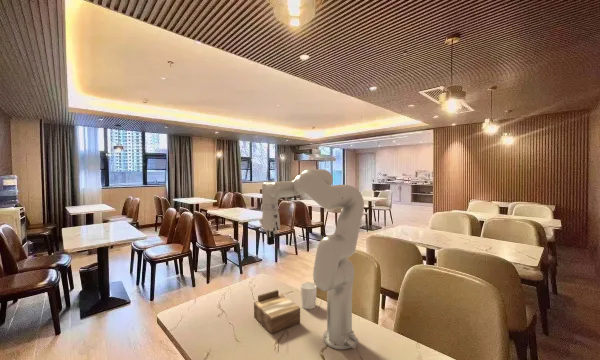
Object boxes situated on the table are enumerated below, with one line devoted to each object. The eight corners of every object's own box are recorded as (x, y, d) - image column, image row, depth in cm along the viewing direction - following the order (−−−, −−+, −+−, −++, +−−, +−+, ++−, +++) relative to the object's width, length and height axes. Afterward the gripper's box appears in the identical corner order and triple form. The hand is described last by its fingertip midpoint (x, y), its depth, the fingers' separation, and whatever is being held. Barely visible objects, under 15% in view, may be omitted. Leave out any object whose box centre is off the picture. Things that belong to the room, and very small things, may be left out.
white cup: (317, 310, 127) (317, 289, 126) (300, 309, 127) (300, 289, 127) (316, 301, 135) (316, 282, 134) (300, 301, 135) (300, 282, 134)
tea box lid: (300, 309, 115) (300, 302, 115) (271, 319, 107) (271, 311, 107) (280, 295, 129) (280, 288, 128) (253, 303, 121) (253, 296, 120)
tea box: (300, 323, 116) (300, 309, 116) (271, 334, 108) (271, 320, 107) (281, 308, 129) (280, 295, 129) (254, 317, 121) (253, 304, 121)
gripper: (285, 207, 128) (285, 246, 129) (269, 205, 140) (269, 240, 141) (271, 209, 124) (272, 248, 124) (256, 206, 136) (256, 242, 136)
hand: (270, 244), depth 132 cm, fingers closed
